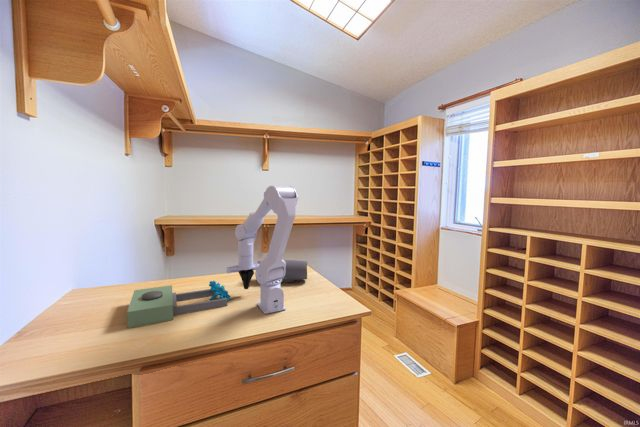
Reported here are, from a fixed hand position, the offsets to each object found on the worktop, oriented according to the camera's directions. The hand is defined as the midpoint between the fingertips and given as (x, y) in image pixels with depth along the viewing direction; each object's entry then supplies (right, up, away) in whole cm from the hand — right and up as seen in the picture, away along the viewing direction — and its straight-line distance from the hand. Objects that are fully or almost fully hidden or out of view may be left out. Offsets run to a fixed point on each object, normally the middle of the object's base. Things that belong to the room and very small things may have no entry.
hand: (246, 288), depth 108 cm
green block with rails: (-20, -3, -11) cm, 23 cm away
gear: (-9, -3, -4) cm, 10 cm away
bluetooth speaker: (+12, -2, +18) cm, 22 cm away
